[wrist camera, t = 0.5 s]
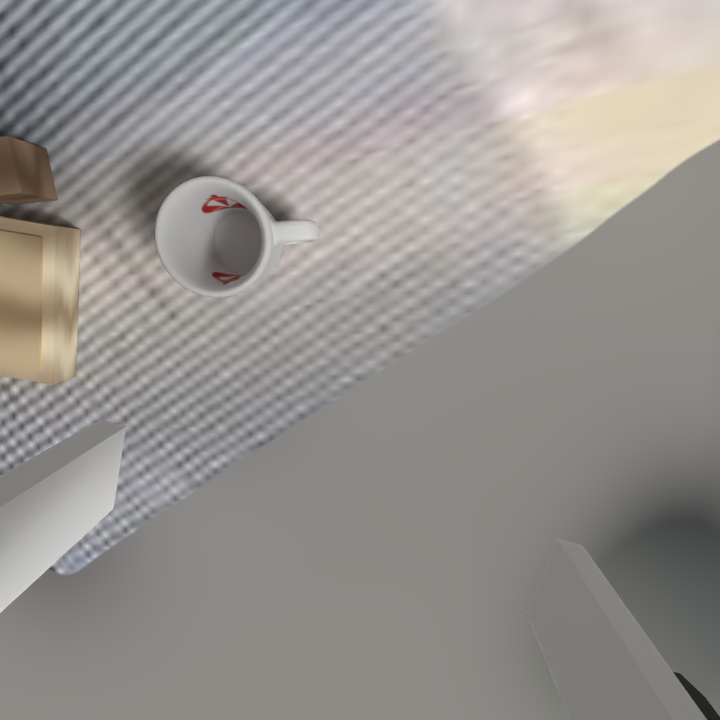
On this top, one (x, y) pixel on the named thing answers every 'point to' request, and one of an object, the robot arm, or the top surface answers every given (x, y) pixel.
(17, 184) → the walnut block
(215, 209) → the cup
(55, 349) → the tan square tray
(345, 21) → the top surface
